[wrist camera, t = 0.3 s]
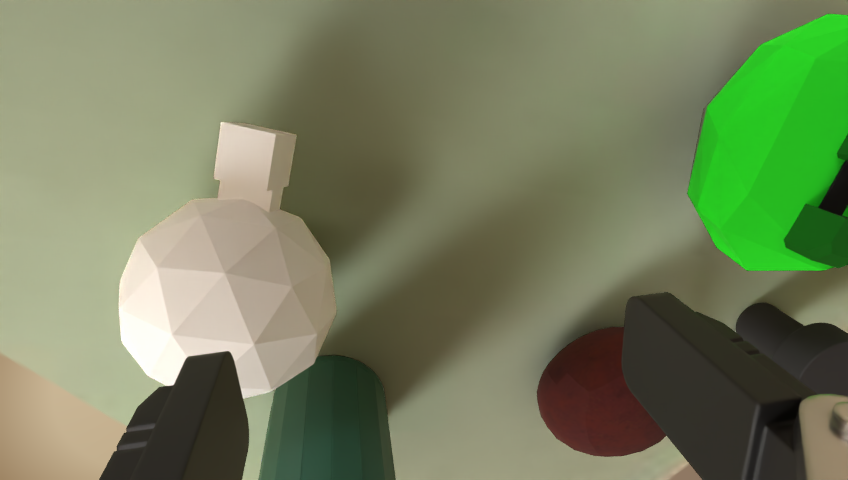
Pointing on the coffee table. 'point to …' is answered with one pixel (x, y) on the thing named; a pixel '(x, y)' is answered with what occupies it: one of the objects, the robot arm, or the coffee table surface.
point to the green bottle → (329, 425)
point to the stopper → (799, 347)
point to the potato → (594, 399)
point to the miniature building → (779, 154)
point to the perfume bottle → (231, 274)
